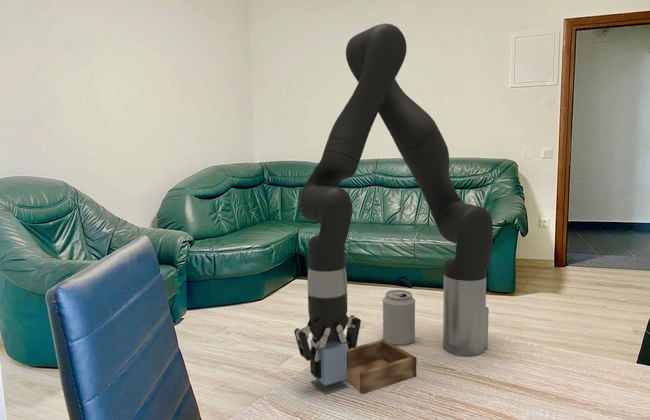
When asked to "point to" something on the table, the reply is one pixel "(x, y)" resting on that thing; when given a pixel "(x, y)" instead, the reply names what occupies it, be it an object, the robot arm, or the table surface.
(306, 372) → the table surface
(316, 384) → the coaster
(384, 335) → the can
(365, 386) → the crate
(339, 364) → the block
